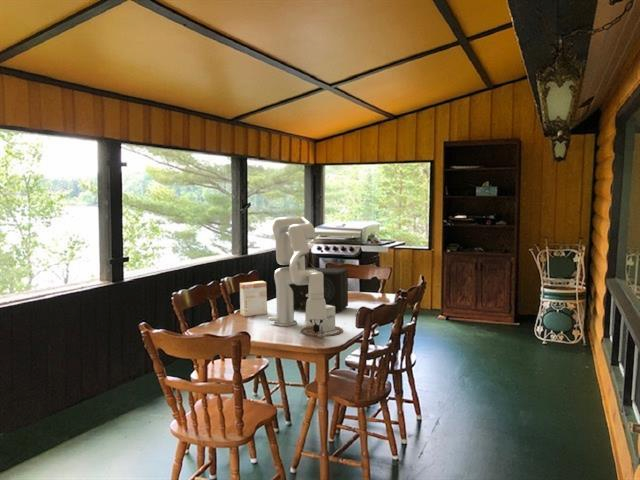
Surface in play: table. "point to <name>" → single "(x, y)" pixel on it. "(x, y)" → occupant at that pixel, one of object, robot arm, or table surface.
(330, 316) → the supplement box
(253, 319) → the table surface
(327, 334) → the collar
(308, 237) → the robot arm
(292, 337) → the table surface
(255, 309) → the coffeecake box
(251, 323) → the table surface
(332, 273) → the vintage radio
